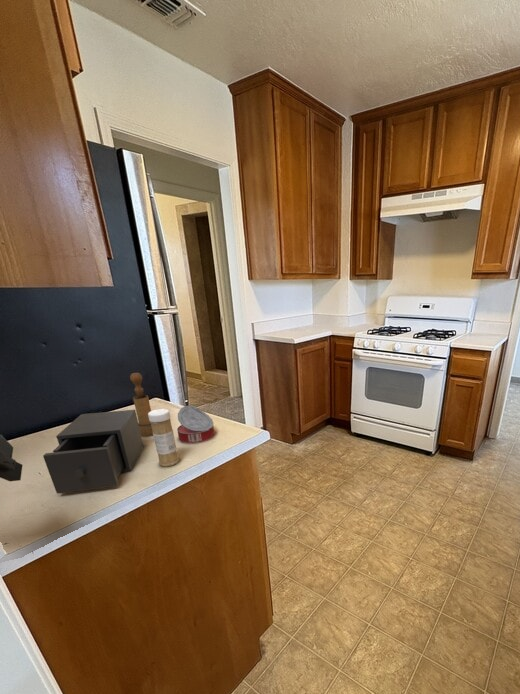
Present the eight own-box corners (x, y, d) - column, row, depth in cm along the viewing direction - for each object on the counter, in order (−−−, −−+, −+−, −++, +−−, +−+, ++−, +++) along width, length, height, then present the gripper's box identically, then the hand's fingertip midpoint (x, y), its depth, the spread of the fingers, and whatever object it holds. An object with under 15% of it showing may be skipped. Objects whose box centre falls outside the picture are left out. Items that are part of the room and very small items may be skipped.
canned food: (206, 443, 108) (218, 413, 108) (211, 452, 100) (223, 420, 99) (168, 432, 103) (180, 401, 102) (170, 441, 94) (182, 407, 93)
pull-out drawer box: (115, 488, 74) (104, 451, 71) (54, 496, 72) (39, 458, 68) (132, 458, 87) (124, 425, 84) (81, 464, 85) (70, 430, 81)
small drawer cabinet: (130, 471, 83) (119, 429, 79) (70, 478, 80) (56, 436, 76) (143, 446, 96) (135, 409, 92) (92, 451, 93) (81, 414, 89)
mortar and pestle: (135, 438, 101) (120, 376, 94) (136, 430, 107) (122, 371, 100) (160, 434, 104) (148, 374, 97) (160, 427, 109) (148, 369, 102)
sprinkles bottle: (172, 457, 90) (161, 407, 84) (183, 461, 87) (173, 410, 82) (155, 464, 86) (143, 412, 81) (166, 469, 84) (154, 416, 79)
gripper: (-223, 449, 34) (-35, 501, 55) (-60, 434, 37) (59, 489, 58) (-196, 382, 37) (-27, 456, 58) (-46, 373, 40) (62, 447, 61)
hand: (16, 473), depth 58 cm, fingers closed
